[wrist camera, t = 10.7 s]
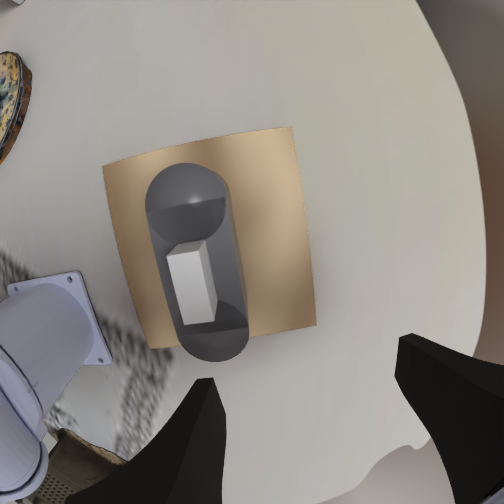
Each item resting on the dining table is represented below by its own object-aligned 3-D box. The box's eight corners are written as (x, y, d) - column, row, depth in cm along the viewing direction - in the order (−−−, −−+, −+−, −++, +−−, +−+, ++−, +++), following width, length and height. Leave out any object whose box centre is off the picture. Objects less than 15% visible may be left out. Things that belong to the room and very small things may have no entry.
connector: (198, 320, 18) (180, 389, 11) (167, 175, 16) (120, 171, 9) (250, 313, 18) (257, 382, 11) (224, 163, 16) (214, 149, 9)
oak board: (152, 343, 19) (149, 348, 18) (107, 166, 16) (102, 166, 15) (313, 319, 19) (316, 325, 19) (289, 129, 16) (292, 126, 15)
